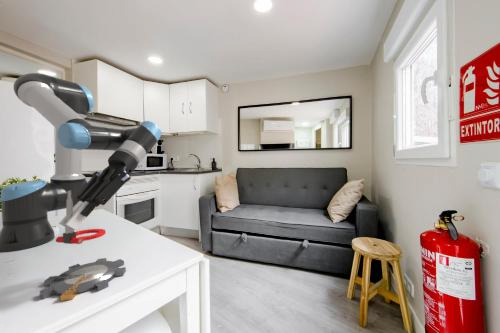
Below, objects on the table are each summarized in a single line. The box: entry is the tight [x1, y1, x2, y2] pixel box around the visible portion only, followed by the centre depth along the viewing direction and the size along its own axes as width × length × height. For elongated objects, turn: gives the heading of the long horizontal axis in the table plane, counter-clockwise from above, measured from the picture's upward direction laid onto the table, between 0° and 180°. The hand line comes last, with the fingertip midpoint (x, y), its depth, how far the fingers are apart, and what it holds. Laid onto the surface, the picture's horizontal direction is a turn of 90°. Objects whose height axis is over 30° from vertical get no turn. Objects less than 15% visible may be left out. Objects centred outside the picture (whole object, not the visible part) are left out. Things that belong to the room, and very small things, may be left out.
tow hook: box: [55, 191, 106, 245], centre depth 55 cm, size 8×13×9 cm
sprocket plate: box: [39, 257, 127, 302], centre depth 55 cm, size 18×18×1 cm
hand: (67, 226), depth 51 cm, fingers closed on tow hook, 2 cm apart
